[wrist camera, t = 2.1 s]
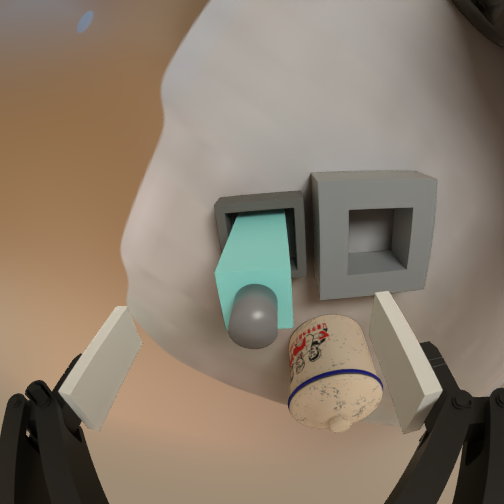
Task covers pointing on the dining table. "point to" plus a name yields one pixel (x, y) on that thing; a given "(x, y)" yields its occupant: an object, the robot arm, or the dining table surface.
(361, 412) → the teacup with lid
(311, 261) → the dining table surface
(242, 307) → the aqua plug
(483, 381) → the dining table surface
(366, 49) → the dining table surface
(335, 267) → the port panel
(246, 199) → the frame
